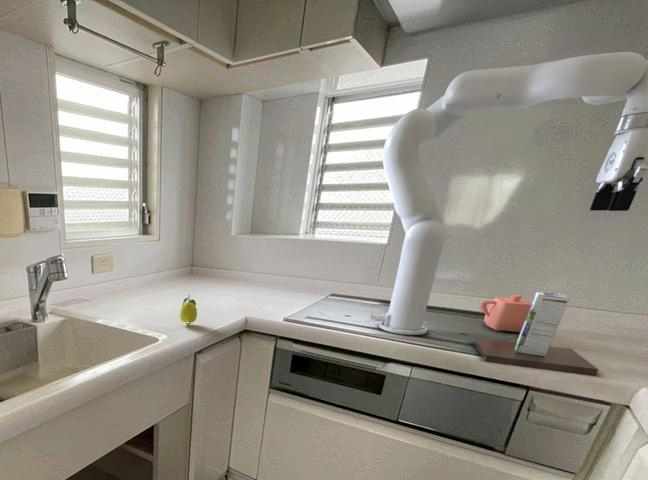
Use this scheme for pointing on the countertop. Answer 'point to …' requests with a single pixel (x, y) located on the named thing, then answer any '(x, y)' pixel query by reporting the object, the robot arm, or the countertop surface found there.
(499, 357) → the cutting board
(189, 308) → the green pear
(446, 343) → the countertop surface
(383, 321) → the robot arm
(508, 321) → the teapot
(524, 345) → the syrup box
